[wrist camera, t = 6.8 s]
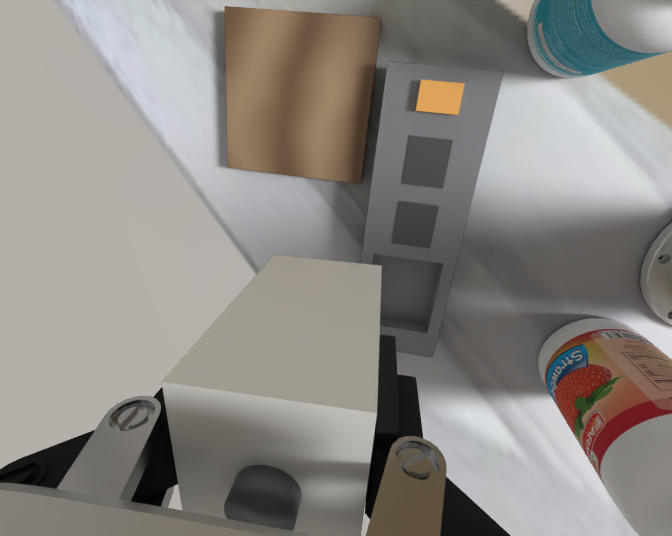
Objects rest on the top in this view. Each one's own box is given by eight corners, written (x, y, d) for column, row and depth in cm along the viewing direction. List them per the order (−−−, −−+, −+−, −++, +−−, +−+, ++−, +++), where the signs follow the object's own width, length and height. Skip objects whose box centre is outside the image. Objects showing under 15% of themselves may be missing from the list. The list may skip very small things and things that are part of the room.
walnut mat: (381, 22, 27) (380, 17, 25) (361, 182, 31) (360, 183, 30) (231, 11, 28) (224, 6, 27) (233, 166, 32) (227, 167, 31)
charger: (381, 265, 14) (376, 437, 6) (368, 374, 16) (352, 608, 8) (274, 254, 15) (142, 402, 7) (275, 362, 17) (175, 571, 9)
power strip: (492, 77, 27) (506, 70, 23) (429, 339, 36) (433, 361, 33) (388, 68, 28) (387, 59, 24) (353, 327, 37) (349, 346, 33)
